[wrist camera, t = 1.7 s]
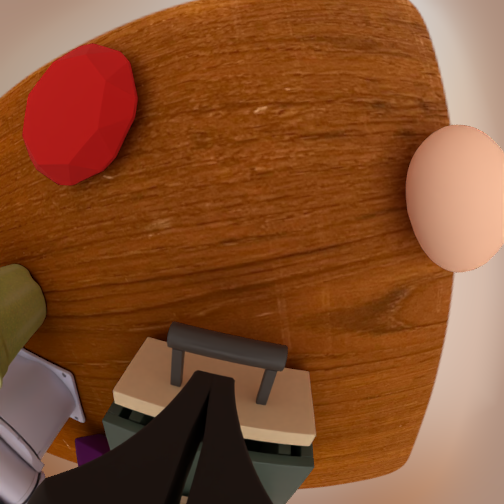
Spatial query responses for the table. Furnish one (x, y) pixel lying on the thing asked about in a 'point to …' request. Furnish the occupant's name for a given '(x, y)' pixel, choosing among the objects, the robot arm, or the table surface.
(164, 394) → the drawer
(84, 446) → the perfume bottle
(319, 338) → the table surface
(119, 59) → the gemstone
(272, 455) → the cabinet
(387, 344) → the table surface
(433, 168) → the egg
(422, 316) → the table surface
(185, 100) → the table surface
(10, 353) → the plant pot
